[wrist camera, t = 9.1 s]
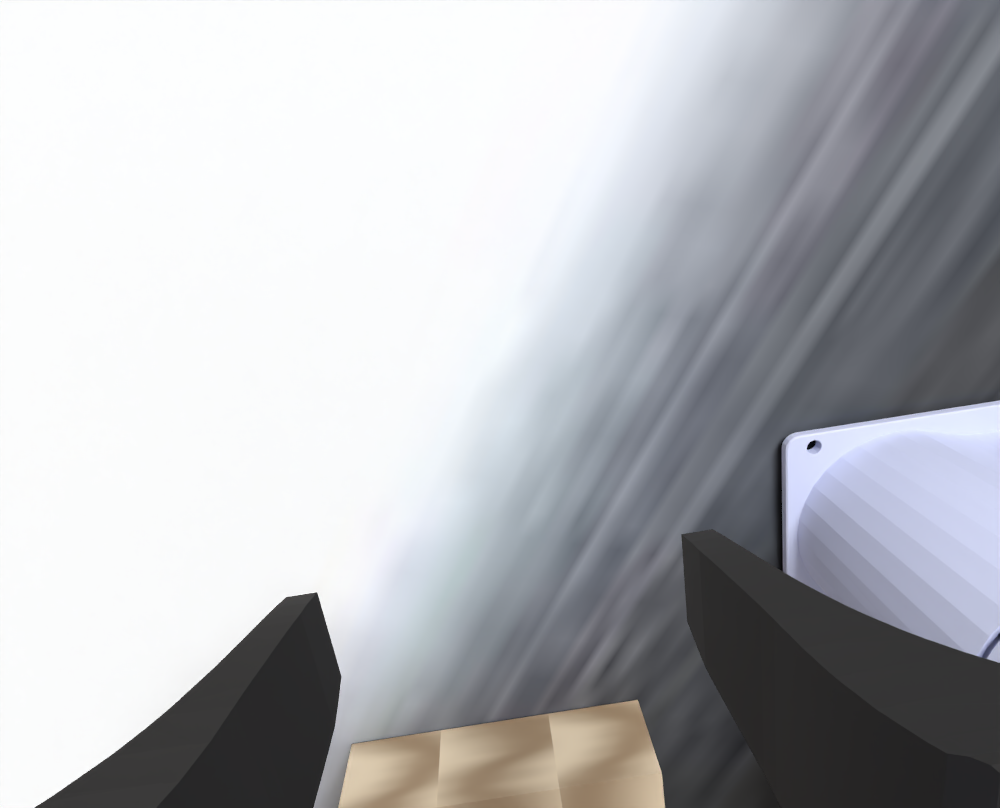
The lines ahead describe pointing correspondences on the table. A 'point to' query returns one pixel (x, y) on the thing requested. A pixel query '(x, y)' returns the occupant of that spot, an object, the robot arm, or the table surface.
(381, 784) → the holder block
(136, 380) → the table surface
